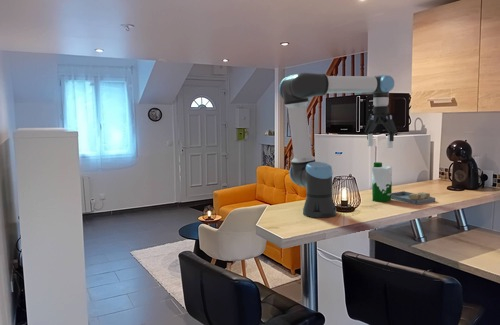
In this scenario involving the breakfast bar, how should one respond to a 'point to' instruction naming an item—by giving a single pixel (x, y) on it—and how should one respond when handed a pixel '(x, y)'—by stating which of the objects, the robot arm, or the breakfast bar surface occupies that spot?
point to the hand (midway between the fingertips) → (379, 146)
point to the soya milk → (381, 182)
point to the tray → (404, 197)
